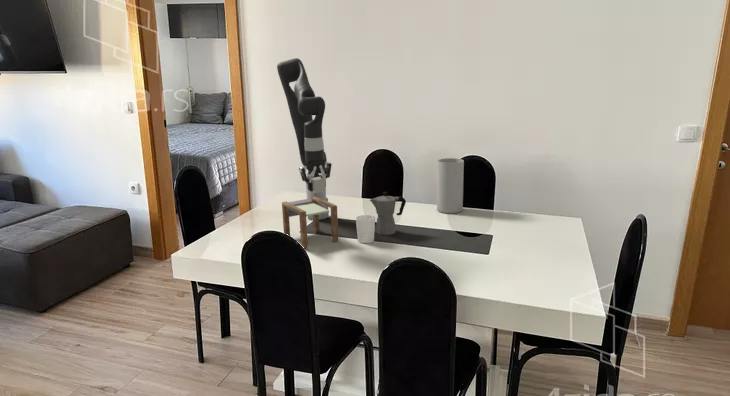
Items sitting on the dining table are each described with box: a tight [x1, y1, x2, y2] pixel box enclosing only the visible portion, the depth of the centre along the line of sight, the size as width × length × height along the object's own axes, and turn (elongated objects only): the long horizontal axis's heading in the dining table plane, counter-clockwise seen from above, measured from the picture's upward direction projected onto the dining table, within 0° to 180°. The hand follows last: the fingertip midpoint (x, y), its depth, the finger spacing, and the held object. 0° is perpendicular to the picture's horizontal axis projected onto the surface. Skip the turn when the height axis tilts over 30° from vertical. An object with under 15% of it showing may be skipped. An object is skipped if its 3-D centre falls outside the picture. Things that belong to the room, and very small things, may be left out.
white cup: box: [355, 214, 376, 244], centre depth 212 cm, size 8×8×10 cm
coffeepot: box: [369, 191, 407, 236], centre depth 222 cm, size 15×9×18 cm, turn 92°
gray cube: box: [312, 177, 327, 193], centre depth 207 cm, size 5×5×5 cm
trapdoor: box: [287, 198, 330, 218], centre depth 216 cm, size 20×11×5 cm, turn 32°
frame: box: [281, 196, 339, 250], centre depth 215 cm, size 16×19×16 cm
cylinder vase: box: [436, 157, 465, 215], centre depth 251 cm, size 12×12×25 cm
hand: (317, 189), depth 208 cm, fingers closed on gray cube, 5 cm apart
